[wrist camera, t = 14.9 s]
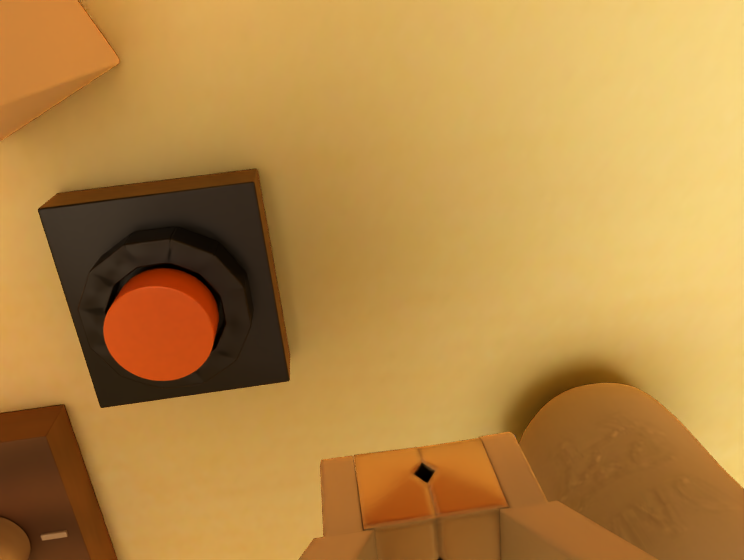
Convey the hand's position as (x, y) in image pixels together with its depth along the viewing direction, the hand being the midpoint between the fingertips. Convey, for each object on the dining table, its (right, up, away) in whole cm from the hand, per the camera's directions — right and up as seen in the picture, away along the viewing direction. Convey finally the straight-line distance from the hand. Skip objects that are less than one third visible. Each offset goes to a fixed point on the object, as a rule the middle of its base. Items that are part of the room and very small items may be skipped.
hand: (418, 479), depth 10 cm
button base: (-11, +3, +25) cm, 27 cm away
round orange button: (-10, +1, +21) cm, 24 cm away
